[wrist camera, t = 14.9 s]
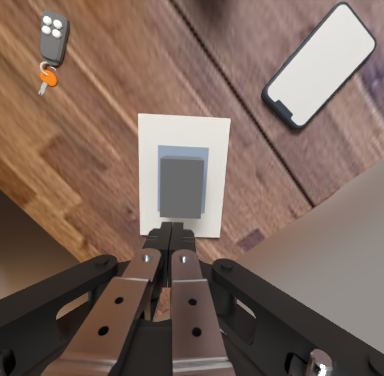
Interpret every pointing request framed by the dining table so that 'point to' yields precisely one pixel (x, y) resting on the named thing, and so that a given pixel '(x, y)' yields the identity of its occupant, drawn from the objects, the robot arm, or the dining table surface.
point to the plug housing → (181, 186)
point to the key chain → (52, 45)
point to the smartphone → (319, 66)
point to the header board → (183, 146)
